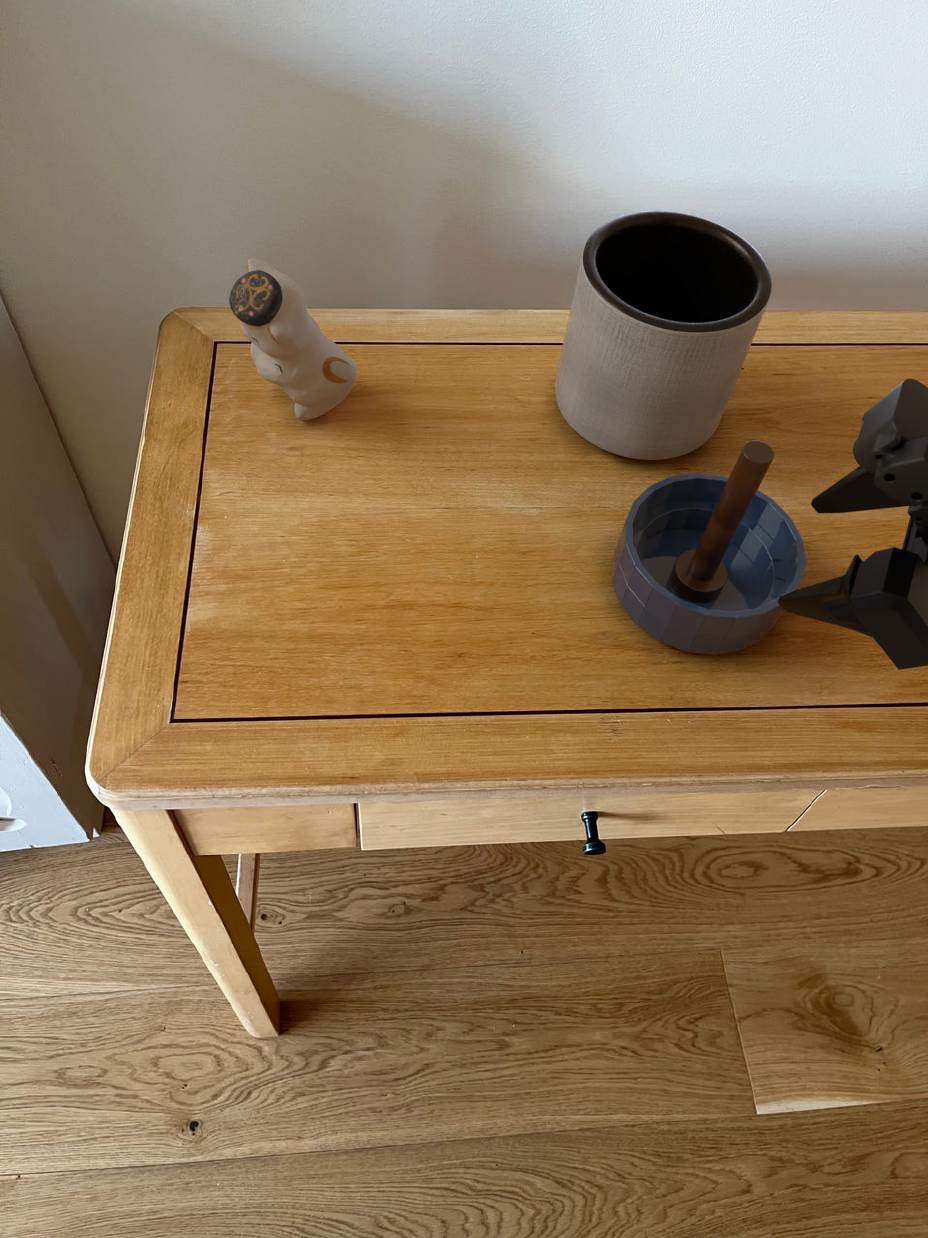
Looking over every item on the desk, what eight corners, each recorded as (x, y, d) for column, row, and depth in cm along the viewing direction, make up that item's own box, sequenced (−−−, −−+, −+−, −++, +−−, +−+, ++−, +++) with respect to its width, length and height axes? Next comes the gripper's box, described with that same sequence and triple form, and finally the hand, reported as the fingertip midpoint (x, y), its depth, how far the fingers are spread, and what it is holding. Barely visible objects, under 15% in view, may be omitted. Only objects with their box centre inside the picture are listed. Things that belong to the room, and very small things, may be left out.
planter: (752, 428, 88) (815, 292, 75) (622, 492, 83) (665, 357, 70) (646, 328, 95) (687, 187, 82) (519, 382, 90) (542, 240, 77)
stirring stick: (710, 556, 79) (774, 424, 66) (730, 598, 77) (800, 471, 64) (662, 563, 78) (717, 432, 65) (681, 606, 76) (741, 479, 63)
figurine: (247, 376, 88) (223, 235, 75) (353, 370, 89) (347, 230, 76) (251, 444, 83) (226, 306, 70) (363, 436, 84) (358, 299, 72)
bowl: (739, 508, 83) (762, 463, 78) (806, 642, 76) (835, 601, 70) (588, 531, 80) (602, 485, 75) (642, 671, 73) (661, 631, 68)
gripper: (1010, 271, 52) (768, 379, 64) (960, 498, 42) (686, 575, 54) (1093, 416, 56) (851, 491, 68) (1065, 653, 46) (789, 692, 58)
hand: (798, 553), depth 62 cm, fingers open, 9 cm apart
